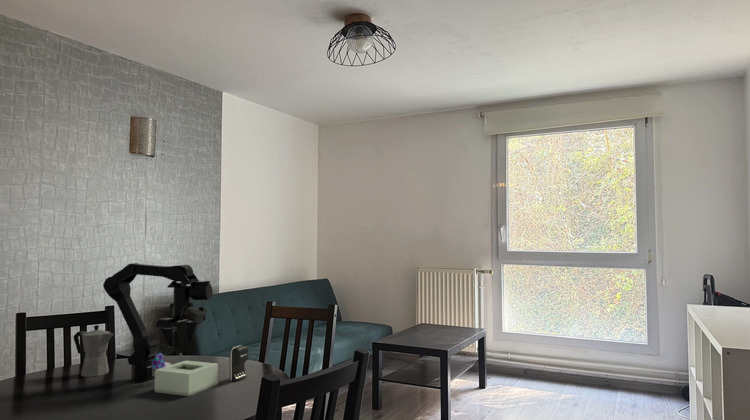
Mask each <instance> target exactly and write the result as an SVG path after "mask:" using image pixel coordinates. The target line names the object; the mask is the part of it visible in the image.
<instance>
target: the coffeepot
mask: <svg viewBox="0 0 750 420" xmlns="http://www.w3.org/2000/svg"><path fill="white" fill-rule="evenodd" d="M99 327H100V325H98V324H96V325H94V326H93V329H94V330H91V331H81V330H80V331H77V332H76V333H75V334H74V335H73V342H74V344H75V347H76V351H77V353H78V354H80V355H81V354H82V355H83V354H84V353H85V356H84V360H83V364H82V369H81V373H80V376H81V377H84V378H95V377H94V376H96V377H100V376H104V375H108V374H109V371H110V370H109V369H110V368H109V363H108V357H107V355H106V354H107V351H108V346H109V341H110V339H111V338H112V337H113V336H114V333H113V332H111V331H106V330H103V329H100V330H99ZM79 337H81V338H82V344H83V350H82V349H81V348H82V346H81V343H80V338H79Z"/></svg>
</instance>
